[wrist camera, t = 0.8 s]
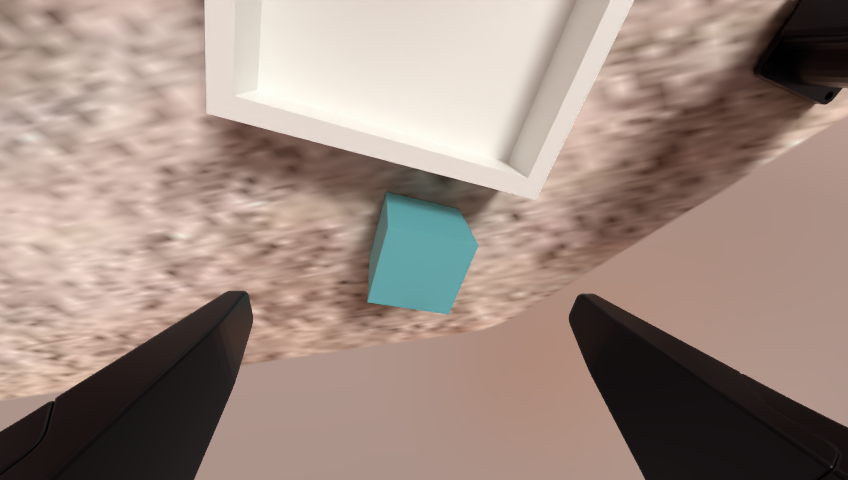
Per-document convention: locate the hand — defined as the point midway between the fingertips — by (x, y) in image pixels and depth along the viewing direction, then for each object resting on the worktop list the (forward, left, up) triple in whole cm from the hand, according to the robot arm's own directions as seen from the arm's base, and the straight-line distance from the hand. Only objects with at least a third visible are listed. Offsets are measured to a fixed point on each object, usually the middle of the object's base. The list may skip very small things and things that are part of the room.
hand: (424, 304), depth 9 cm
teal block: (-2, +4, -13) cm, 14 cm away
